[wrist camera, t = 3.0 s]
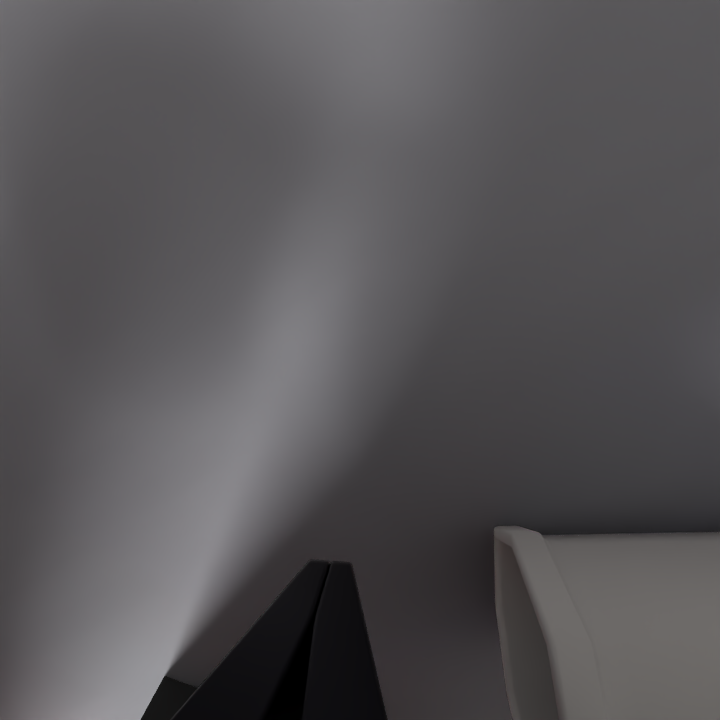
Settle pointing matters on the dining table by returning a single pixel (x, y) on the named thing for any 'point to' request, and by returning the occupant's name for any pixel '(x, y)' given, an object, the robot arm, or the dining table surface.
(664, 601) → the tube
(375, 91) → the dining table surface
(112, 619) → the dining table surface
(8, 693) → the dining table surface
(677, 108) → the dining table surface
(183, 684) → the cleaning product box
